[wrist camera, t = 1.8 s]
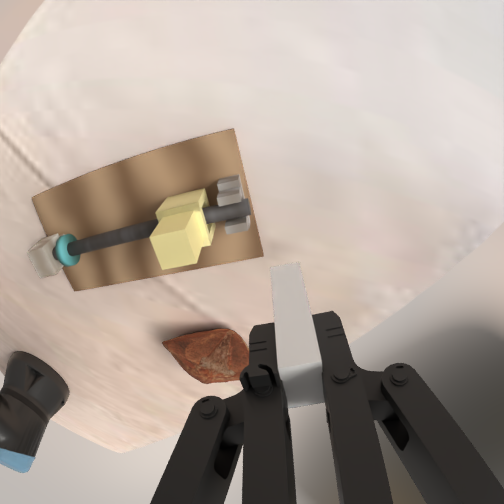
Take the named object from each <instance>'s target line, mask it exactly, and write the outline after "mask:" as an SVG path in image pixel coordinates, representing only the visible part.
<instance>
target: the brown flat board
mask: <svg viewBox="0 0 504 504" xmlns="http://www.w3.org/2000/svg"><path fill="white" fill-rule="evenodd" d="M203 188H205V191H206V194H207V198H208V201H209V205H210V206H208V207H204V208H202V210H203V214H204V217H205V220H206V224H211V223H215V226H216V227H215V231H214V235H213V239H212V243H211V245H210V246H205V247H202V248H201V251H200V254H199V258H198V261H197V263H196V264H191V265H186V266H181V267H176V268H170V269H165V270H162V268H161V266H160V263H159V261H158V258H157V256H156V253H155V251H154V248H153V246H152V243H151V241H150V238H149V237H150V236H151V234H152V232H153V231H154V229H155V228H156V226H157V225H158V223H159V222H158V219H157V216H156V213H155V212H156V211H157V210H158V208H159V207H160V206H161V205H162V203H163V202H164V201H165V199H166V198H167V197H171V196H175V195H179V194H182V193H186V192H190V191H195V190H199V189H203ZM32 200H33V203H34V206H35V208H36V211H37V213H38V216H39V218H40V220H41V223H42V225H43V228H44V230H45V232H46V234H47V237H45V238H43V239H41V240H40V241H39V242H38V243H37V244H36V245H34V246H33V247H32V248H31V249H30V250H29V251H28V252H27V254H28V256H29V258H30V260H31V262H32V264H33V266H34V268H35V270H36V272H37V274H38V276H39V278H44V277H48V276H52V275H56V274H57V273H58V272H59V271H60V269H61V268H63V270H64V272H65V274H66V276H67V278H68V280H69V282H70V284H71V286H72V288H73V289H74V291H80V290H86V289H91V288H97V287H102V286H108V285H113V284H118V283H124V282H129V281H135V280H140V279H146V278H151V277H156V276H162V275H167V274H173V273H178V272H183V271H189V270H194V269H199V268H205V267H210V266H215V265H220V264H226V263H231V262H236V261H242V260H247V259H252V258H257V257H263V256H264V255H263V250H262V245H261V241H260V237H259V232H258V228H257V224H256V220H255V215H254V211H253V207H252V202H251V198H250V194H249V190H248V185H247V181H246V177H245V173H244V169H243V164H242V160H241V156H240V152H239V148H238V143H237V139H236V135H235V131H234V129H230V130H226V131H221V132H217V133H213V134H209V135H205V136H201V137H198V138H194V139H190V140H187V141H183V142H179V143H176V144H172V145H169V146H166V147H162V148H159V149H156V150H153V151H149V152H146V153H143V154H140V155H137V156H134V157H131V158H128V159H125V160H122V161H120V162H117V163H114V164H111V165H108V166H106V167H103V168H100V169H98V170H95V171H92V172H90V173H87V174H85V175H82V176H80V177H77V178H75V179H72V180H70V181H68V182H65V183H63V184H61V185H58V186H56V187H54V188H51V189H49V190H47V191H45V192H42V193H40V194H38V195H36V196H34V197H32Z"/></svg>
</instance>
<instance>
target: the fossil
mask: <svg viewBox="0 0 504 504" xmlns="http://www.w3.org/2000/svg"><path fill="white" fill-rule="evenodd" d="M162 344H163V345H164V347H165V348H166V349H167V350H168V351H169V352H171V354H172V355H173V357H174V358H175V359H176V360H177V362H178V363H179V364H180V366H181V367H182V368H183V369H184V370H185V371H186V372H187V373H188V374H189V375H191V376H192V377H194V378H195V379H197V380H199V381H200V382H202V383H205V384H209V383H216V382H228V381H235V380H240V379H239V377H240V373H241V371H242V370H243V369H244V368H245V367H246V366H248V365H249V348H248V346H247V344H246V343H245V341H244V340H243V339H242V338H241V336H240V335H238V334H237V333H236V332H235V331H233V330H230V329H215V330H210V331H203V332H196V333H192V334H188V335H183V336H179V337H176V338H173V339H170V340H167V341H164V342H162Z"/></svg>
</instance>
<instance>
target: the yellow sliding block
mask: <svg viewBox="0 0 504 504" xmlns="http://www.w3.org/2000/svg"><path fill="white" fill-rule="evenodd" d="M208 206H210V205H209V201H208V198H207V194H206V191H205V188H203V189H199V190H195V191H190V192H186V193H182V194H179V195H175V196H171V197H167V198H166V199H165V201H164V202H163V203H162V205H161V206H160V207H159V208H158V210H157V211H156V212H155V213H156V216H157V219H158V222H159V223H158V225H157V226H156V228H155V229H154V231H153V232H152V234H151V236H150V237H149V238H150V241H151V243H152V246H153V248H154V251H155V253H156V256H157V258H158V261H159V263H160V266H161V268H162V270H165V269H170V268H176V267H181V266H186V265H191V264H196V263H197V261H198V258H199V254H200V251H201V248H202V247H205V246H210V245H211V243H212V239H213V235H214V231H215V227H216V226H215V223H211V224H206V220H205V217H204V214H203V210H202V208H204V207H208Z"/></svg>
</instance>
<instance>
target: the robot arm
mask: <svg viewBox="0 0 504 504" xmlns="http://www.w3.org/2000/svg"><path fill="white" fill-rule="evenodd" d="M270 273H271V285H272V297H273V310H274V323H268V324H262V325H256V326H254V327H253V329H252V331H251V332H250V334H249V365H248V366H246V367H245V368H244V369H243V370H242V371H241V373H240V377H239V379H240V382H241V384H242V386H243V390H242V391H241V392H239V393H238V394H236V395H234V396H231V397H229V398H226V399H223V400H222V399H221V398H219V397H216V396H207V397H204V398H201V399H200V400H198V401H197V402H196V403H195V404H194V406H193V407H192V409H191V412H190V414H189V416H188V419H187V421H186V423H185V425H184V428H183V430H182V432H181V435H180V437H179V439H178V442H177V444H176V446H175V449H174V451H173V453H172V455H171V457H170V460H169V462H168V464H167V467H166V469H165V471H164V473H163V476H162V478H161V480H160V482H159V485H158V487H157V489H156V491H155V494H154V496H153V498H152V501H151V503H150V504H224V501H225V498H226V495H227V492H228V489H229V486H230V483H231V480H232V477H233V474H234V471H235V468H236V465H237V461H238V458H239V455H240V452H241V449H242V446H243V487H242V504H297V503H296V489H295V475H294V462H293V449H292V437H291V425H290V418H289V415H288V408H295V407H301V406H307V405H312V404H318V403H324V402H325V405H326V416H327V423H328V427H329V433H330V439H331V445H332V452H333V459H334V466H335V473H336V480H337V487H338V495H339V501H340V504H393V501H392V496H391V491H390V486H389V482H388V477H387V473H386V469H385V464H384V460H383V456H382V452H381V448H380V443H379V439H378V435H377V432H376V428H375V424H374V420H377V421H378V423H379V425H380V426H381V428H382V430H383V431H384V433H385V435H386V436H387V438H388V440H389V441H390V443H391V445H392V446H393V448H394V449H395V451H396V453H397V454H398V456H399V458H400V459H401V461H402V463H403V464H404V466H405V468H406V469H407V471H408V473H409V474H410V476H411V478H412V479H413V481H414V483H415V485H416V486H417V488H418V489H419V491H420V493H421V495H422V496H423V498H424V500H425V501H426V503H427V504H504V489H503V487H502V486H501V485H500V483H499V481H498V480H497V479H496V477H495V476H494V474H493V473H492V471H491V470H490V468H489V467H488V466H487V464H486V463H485V461H484V460H483V458H482V457H481V456H480V454H479V453H478V452H477V450H476V449H475V448H474V446H473V445H472V443H471V442H470V441H469V439H468V438H467V436H466V435H465V434H464V432H463V431H462V430H461V428H460V427H459V426H458V424H457V423H456V422H455V420H454V419H453V418H452V417H451V415H450V414H449V413H448V411H447V410H446V409H445V407H444V406H443V405H442V404H441V402H440V401H439V400H438V398H437V397H436V396H435V395H434V393H433V392H432V391H431V390H430V388H429V387H428V386H427V384H426V383H425V382H424V381H423V379H422V378H421V377H420V376H419V374H418V373H417V372H416V371H415V369H413V368H412V367H411V366H410V365H407V364H404V363H396V364H393V365H390V366H389V367H387V368H386V369H385V370H384V372H376V371H367V370H364V369H361V368H360V367H358V366H357V365H356V364H355V362H354V360H353V358H352V354H351V351H350V348H349V345H348V341H347V338H346V335H345V332H344V329H343V326H342V323H341V319H340V317H339V316H338V315H337V314H336V313H335V312H333V311H330V312H325V313H319V314H314V315H312V314H311V310H310V305H309V301H308V297H307V292H306V288H305V284H304V280H303V275H302V271H301V267H300V263H299V262H296V263H291V264H285V265H280V266H275V267H270ZM68 397H69V389H68V386H67V385H66V383H65V382H64V380H63V379H62V378H61V377H60V376H59V375H58V374H57V373H56V372H55V371H54V370H53V369H52V368H51V367H50V366H48V365H47V364H46V363H44V362H43V361H41V360H40V359H38V358H36V357H34V356H32V355H30V354H28V353H25V352H15V353H13V355H12V356H11V358H10V359H9V361H8V364H7V369H6V374H5V379H4V385H3V388H2V389H1V391H0V463H1V464H2V465H4V466H6V467H8V468H10V469H13V470H15V471H18V472H20V473H25V472H28V471H29V469H30V467H31V465H32V462H33V461H34V459H35V455H36V453H37V450H38V447H39V445H40V442H41V439H42V437H43V434H44V432H45V429H46V427H47V424H48V422H49V420H50V418H51V417H52V416H53V415H54V414H55V413H56V412H58V411H59V410H60V408H61V407H62V406H64V405H65V403H66V401H67V399H68Z"/></svg>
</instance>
